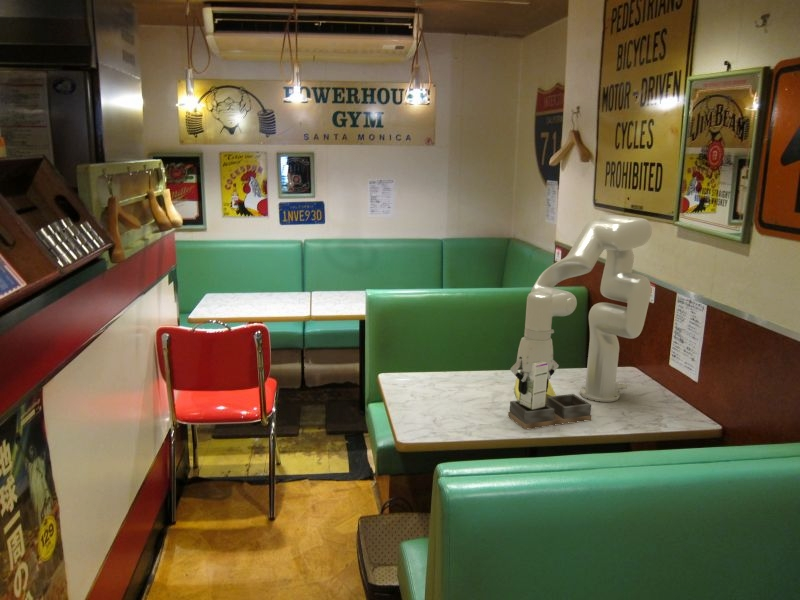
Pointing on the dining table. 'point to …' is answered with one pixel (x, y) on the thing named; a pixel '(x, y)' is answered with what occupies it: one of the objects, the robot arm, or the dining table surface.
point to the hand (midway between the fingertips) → (532, 391)
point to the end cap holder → (551, 412)
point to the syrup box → (535, 386)
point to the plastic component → (549, 392)
